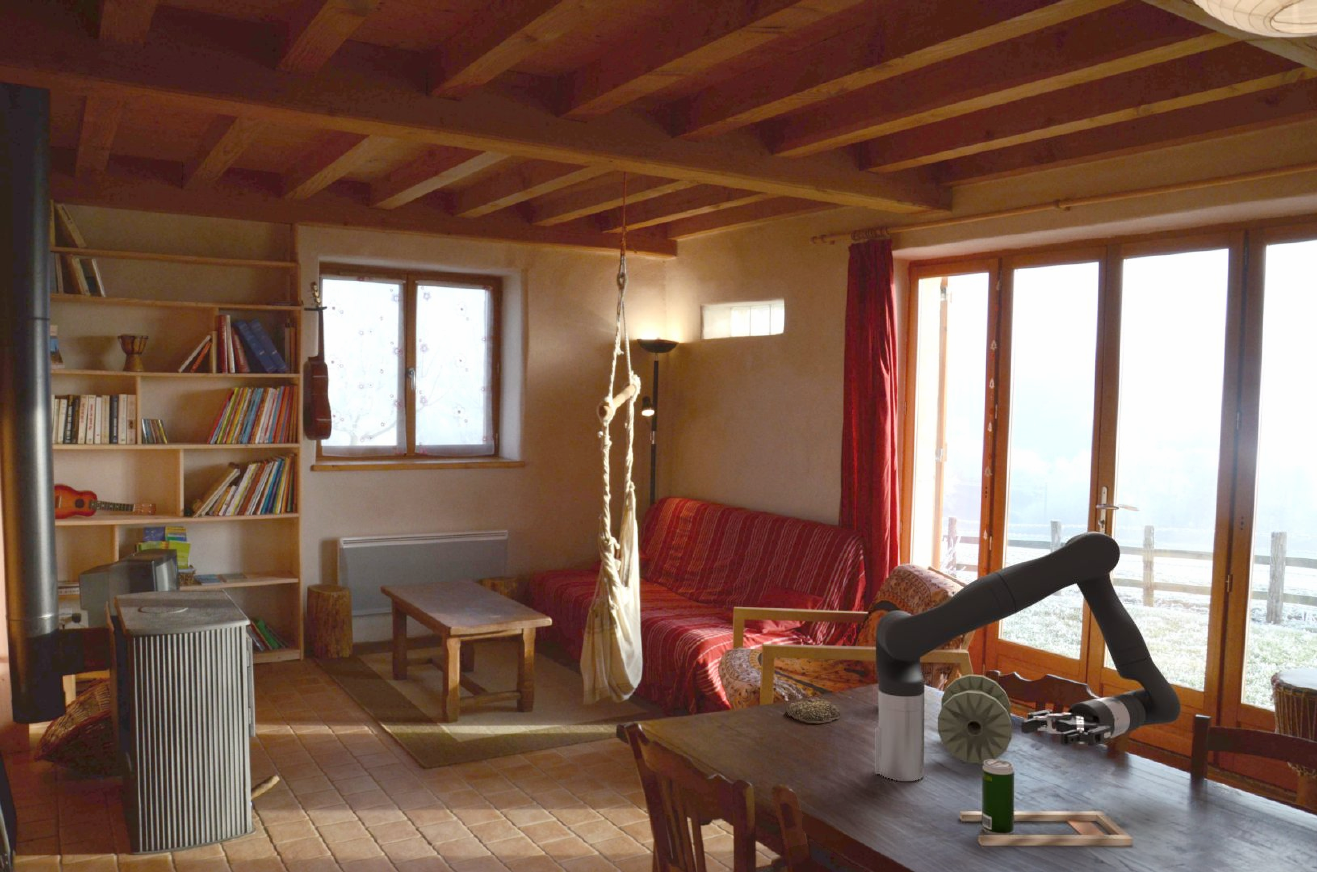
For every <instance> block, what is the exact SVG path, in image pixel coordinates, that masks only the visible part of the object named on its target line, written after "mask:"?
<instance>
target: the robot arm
mask: <svg viewBox="0 0 1317 872" xmlns="http://www.w3.org/2000/svg"><path fill="white" fill-rule="evenodd" d="M1120 557H1121V550H1120V546H1119V544H1118V543H1117V541H1116V540H1115V539H1114V538H1113V537H1111V535H1110V536H1109V535H1108V534H1106V533H1103V532H1098V531H1086V532H1082V533H1080V534H1077V535H1074V536H1073V537H1071V538H1070V539H1068V540H1067V541H1066V542H1065V543H1064V545H1063V546H1061V547H1059V548H1057V549H1056V550H1054V551H1052V552H1050V553H1048V554H1045V555H1043V556H1041V557H1036V558H1034V559H1030V560H1025V561H1021V562H1018V563H1016V564H1012V565H1009V566H1006V567H1003V568H1000V569H998V570H995V571H993V572H991V573H988V574H986V575H984V576H981V577H979V578H977V579H975V580H973V581H971V582H970V583H968V584H967V585H965V586H964V587H962V588H961V589H960V590H959V591H958V592H956V593H955V594H954V595H953V596H952V597H950V598H949V599H947V600H946V601H944V602H942V603H941V604H939V605H937V606H935V607H932V608H930V609H929V608H928V609H927V610H924V611H921V612H919V613H915V614H911V613H909V612H907V611H904V610H890V611H888V612H887V613H885V614H884V615H882V617H881V618H880V619H879V621H878V623H877V626H876V630H875V669H876V671H875V672H876V676H877V681H878V685H877V687H878V693H877V694H878V696H877V697H878V698H877V702H878V707H877V708H878V712H877V713H878V714H877V715H878V723H877V724H878V725H877V726H876V727H875V729H874V774H875V773H876V774H875V775H877V774H880V775H879V776H881V775H882V776H881V777H883V776H885V777H887V778H886V779H888V778H890V779H889V780H891V779H893V781H896V780H897V782H916V781H919V780H922V779H923V778H924V777H923V776H925V678H924V676H923V672H922V666H921V658H922V657H923V656H926V655H927V654H929V653H931V652H932V651H934V650H936V649H937V648H939V647H941V646H943V645H944V644H946V643H948V642H951V641H953V639H956V638H958V637H960V636H963V635H965V634H969V633H972V632H974V631H977V630H979V629H981V628H984V627H986V626H988V625H990V624H994V623H996V622H1000V621H1001V620H1004V619H1006V618H1009V617H1011V616H1013V615H1015V614H1017V613H1019V612H1021V611H1023V610H1025V609H1028V608H1029V607H1032V606H1033V605H1036V604H1037V603H1039V602H1042V600H1044V599H1047V598H1048V597H1050V596H1052V595H1053V594H1055V593H1057V592H1059V591H1061V590H1062V589H1065V588H1067V587H1070V586H1074V585H1076V586H1077V587H1078V589H1079V590H1080V592H1081V595H1083V598H1084V600H1085V601H1086V603H1087V605H1088V607H1089V609H1090V611H1091V613H1092V615H1093V617H1094V619H1095V621H1096V624H1097V626H1098V628H1099V630H1100V633H1101V635H1102V637H1103V640H1104V642H1105V644H1106V647H1107V650H1108V652H1109V655H1110V657H1111V660H1112V662H1113V665H1114V667H1115V669H1116V671H1117V673H1118V676H1119V677H1120V678H1121V679H1122V680H1123V679H1124V680H1129V681H1136V682H1138V684H1140V685H1141V686H1142V688H1138V689H1133V690H1130V691H1125V692H1123V693H1120V694H1117V695H1112V696H1106V697H1103V696H1102V697H1098V698H1097V697H1096V698H1093V699H1092V698H1091V699H1088V700H1084V701H1081V702H1076V703H1073V705H1071V706H1070V707H1069V709H1068V711H1067V712H1061V713H1053V710H1052V709H1045V710H1044V709H1043V710H1039V711H1034V712H1029V713H1027V719H1026V720H1022V721H1021V722H1020V723H1021V725H1020V727H1021V733H1023V734H1030V733H1034V732H1039V731H1041V732H1042V731H1043V732H1047V733H1048V734H1053V735H1056V734H1059V735H1060V741H1059V742H1060V743H1059V744H1060V745H1061V746H1064V747H1067V746H1071V745H1074V744H1079V745H1084V744H1087V746H1090V747H1096V746H1097V745H1102V744H1104V743H1107V742H1110V741H1111V739H1112V738H1115V737H1118V736H1120V735H1122V734H1125V733H1129V732H1133V731H1135V730H1137V729H1139V728H1140V727H1144V726H1145V727H1146V726H1151V725H1162V724H1169V723H1173V722H1175V721H1177V720H1178V719H1179V717H1180V715H1181V711H1182V710H1181V708H1182V707H1181V702H1180V698H1179V696H1178V694H1177V692H1176V691H1175V689H1174V688H1173V686H1172V685H1171V684H1170V682H1169V681H1168V680H1167V679H1166V677H1165V676H1164V674H1163V673H1162V672H1161V671H1160V669H1159V668H1158V667H1157V665H1156V664H1155V662H1154V661H1153V659H1152V656H1151V653H1150V650H1149V649H1148V646H1147V644H1146V641H1145V639H1144V637H1143V634H1142V632H1141V630H1140V629H1139V627H1138V625H1137V624H1136V622H1135V620H1134V619H1133V617H1132V616H1131V615H1130V613H1129V612H1128V611H1127V609H1126V608H1125V606H1124V605H1123V603H1122V602H1121V600H1120V598H1119V596H1118V594H1117V592H1116V590H1115V588H1114V586H1113V582H1112V580H1111V576H1110V573H1111V572H1113V571H1114V570H1115V568H1116V567H1117V565H1118V563H1119V561H1120ZM1053 722H1054V728H1052V724H1053ZM885 777H884V778H885ZM922 777H923V778H922ZM921 778H922V779H921ZM918 779H919V780H918ZM915 780H916V781H915Z"/></svg>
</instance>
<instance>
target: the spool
mask: <svg viewBox="0 0 1317 872" xmlns="http://www.w3.org/2000/svg"><path fill="white" fill-rule="evenodd" d="M940 701H941V703H940V704H941V705H940V706H941V708H940V711H939V712H938V716H937V733H938V735H939V738H940V740H941V743H942V745H943V747H945V748H946V750H948V752H949V753H950V754H951V755H952V756H953V757H955V758H957V759H958V760H961V761H963V762H965V763H971V764H980V765H981V764H983V765H984V761H985V760H989V759H998V758H999V757H1001V756H1002V755H1003V754H1004V753H1006V751H1007V749H1008V747H1009V745H1010V742H1011V741H1012V739H1013V738H1012V735H1013V734H1012V732H1013V731H1012V729H1013V728H1012V721H1011V715H1012V714H1011V709H1012V707H1011V705H1012V704H1011V702H1010V699H1009V697H1008V694H1007V691H1005V689H1003V688H1002V687H1001V685H999V683H998V682H997V681H995V680H993V679H991V678H989V677H988V676H985V675H983V674H966V675H962V676H960V677H957V678H955V679H953V681H952V682H951V683H949V684H948V685H947V686H946V688H945V690H944V692H943V694H942V697H941V700H940Z"/></svg>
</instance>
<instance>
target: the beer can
mask: <svg viewBox="0 0 1317 872" xmlns="http://www.w3.org/2000/svg"><path fill="white" fill-rule="evenodd" d="M981 777H982V778H981V811H982V821H981V826H982V830H983V832H985V833H986V834H987V835H1013V832H1014V830H1015V821H1014V811H1015V770H1014V765H1013V763H1012V762H1011V761H1009V760H1004V759H1000V758H999V759H998V758H997V759H989V760H985V761H984V763H983V765H982V766H981Z"/></svg>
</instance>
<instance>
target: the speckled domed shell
mask: <svg viewBox="0 0 1317 872" xmlns="http://www.w3.org/2000/svg"><path fill="white" fill-rule="evenodd" d="M786 710H787V712H788V713H789V714H792V715H794V716H796V717H798V718H803V719H805V720H807V721H824V720H827V719H828V720H829V719H830V718H836V717H839V716H840V715H841V716H842V713H841V711H840V710H839V709H838V707H836V706H835V704H832V703H831V701H828V700H827V699H822V698H819V697H812V698H811V697H810V698H808V699H805V700H800V701H797V702H794V703H793V702H792V703H790V704H788V706H787V707H786V708H785V711H786ZM841 716H840V717H841Z"/></svg>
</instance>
